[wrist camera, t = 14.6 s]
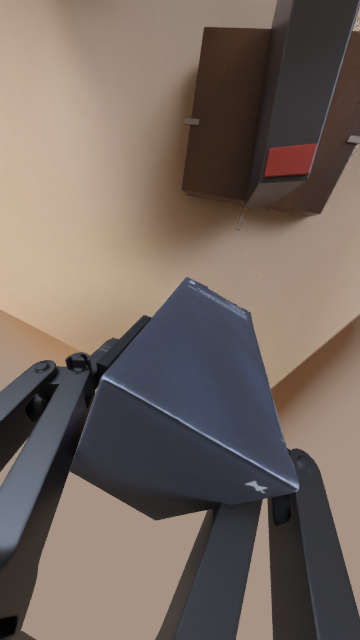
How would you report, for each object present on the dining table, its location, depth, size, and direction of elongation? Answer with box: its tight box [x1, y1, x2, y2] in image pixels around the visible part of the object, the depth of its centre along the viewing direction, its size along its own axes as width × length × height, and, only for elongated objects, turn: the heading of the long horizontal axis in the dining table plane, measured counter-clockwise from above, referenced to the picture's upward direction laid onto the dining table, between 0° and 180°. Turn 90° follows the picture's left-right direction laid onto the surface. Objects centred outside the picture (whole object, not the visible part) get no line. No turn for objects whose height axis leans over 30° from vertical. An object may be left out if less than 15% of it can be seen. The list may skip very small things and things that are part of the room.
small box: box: [70, 277, 299, 520], centre depth 11 cm, size 11×6×10 cm, turn 153°
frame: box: [244, 0, 360, 208], centre depth 10 cm, size 11×2×10 cm, turn 0°
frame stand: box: [182, 27, 360, 231], centre depth 15 cm, size 15×15×3 cm
